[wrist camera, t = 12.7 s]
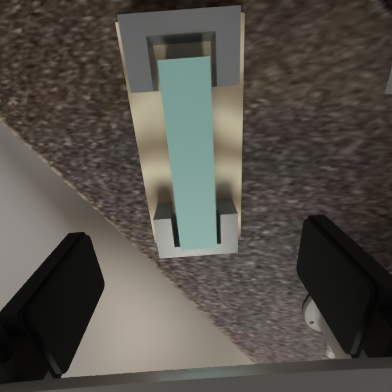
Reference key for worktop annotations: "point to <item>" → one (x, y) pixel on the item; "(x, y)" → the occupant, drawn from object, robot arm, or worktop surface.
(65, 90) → the worktop surface
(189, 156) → the slat
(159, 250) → the grey slat holder
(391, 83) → the parts tray
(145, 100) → the base board
